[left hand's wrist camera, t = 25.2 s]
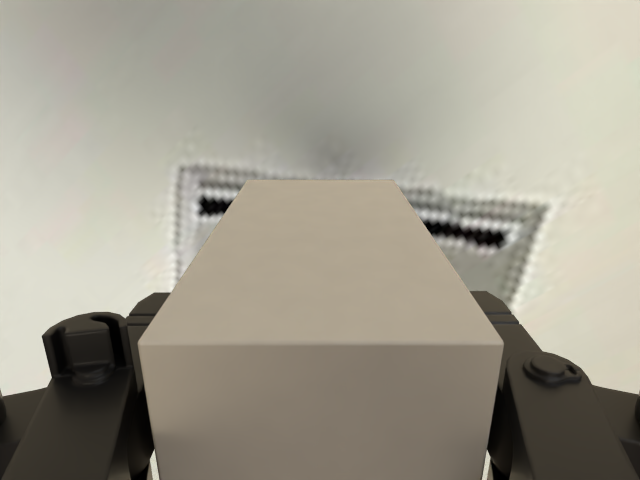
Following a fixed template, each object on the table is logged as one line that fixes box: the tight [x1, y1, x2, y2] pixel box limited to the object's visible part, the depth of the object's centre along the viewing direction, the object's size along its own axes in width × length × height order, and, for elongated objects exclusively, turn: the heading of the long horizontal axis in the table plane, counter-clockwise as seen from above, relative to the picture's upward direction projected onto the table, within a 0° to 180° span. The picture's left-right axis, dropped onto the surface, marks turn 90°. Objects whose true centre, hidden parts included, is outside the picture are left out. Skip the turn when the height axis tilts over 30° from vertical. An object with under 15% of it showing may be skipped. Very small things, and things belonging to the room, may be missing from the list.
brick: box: [138, 180, 504, 480], centre depth 11 cm, size 5×5×9 cm
